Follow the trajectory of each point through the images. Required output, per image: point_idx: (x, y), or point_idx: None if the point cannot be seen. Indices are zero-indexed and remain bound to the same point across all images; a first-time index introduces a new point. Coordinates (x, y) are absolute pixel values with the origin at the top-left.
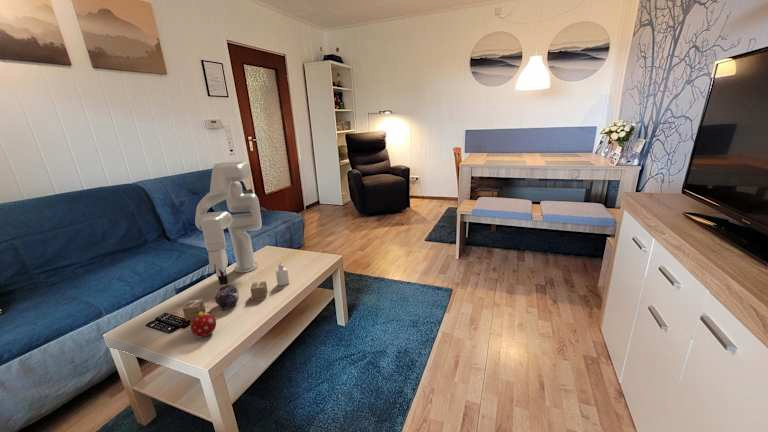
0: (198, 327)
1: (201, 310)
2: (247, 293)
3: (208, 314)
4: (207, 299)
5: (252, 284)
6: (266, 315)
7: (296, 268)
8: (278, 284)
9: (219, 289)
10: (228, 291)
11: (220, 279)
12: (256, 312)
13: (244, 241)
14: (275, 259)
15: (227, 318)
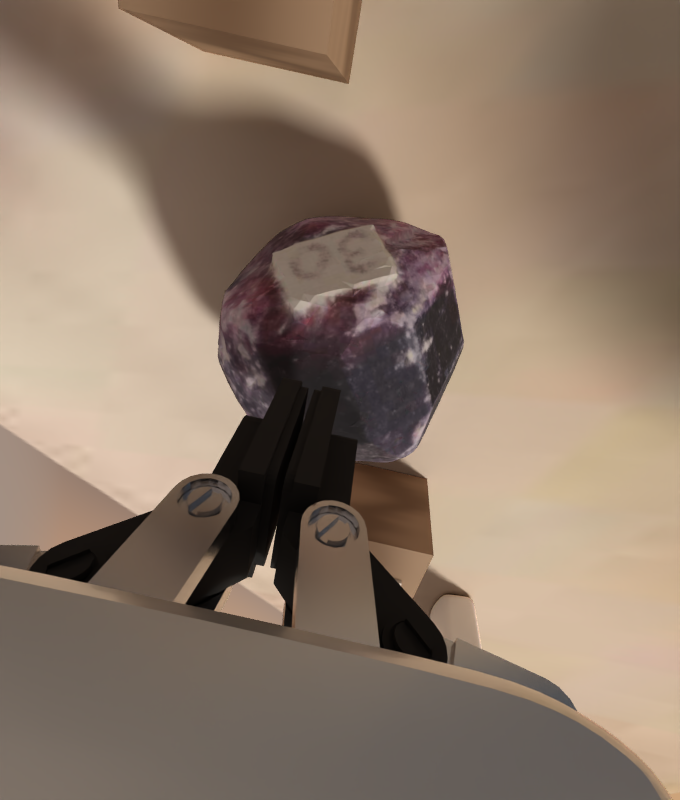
0: None
1: (222, 46)
2: (467, 442)
3: None
4: (629, 74)
5: (400, 550)
6: (125, 493)
7: (611, 692)
8: (443, 602)
9: (304, 328)
10: (246, 409)
11: (219, 465)
12: (171, 458)
13: None
14: None
15: (145, 294)
